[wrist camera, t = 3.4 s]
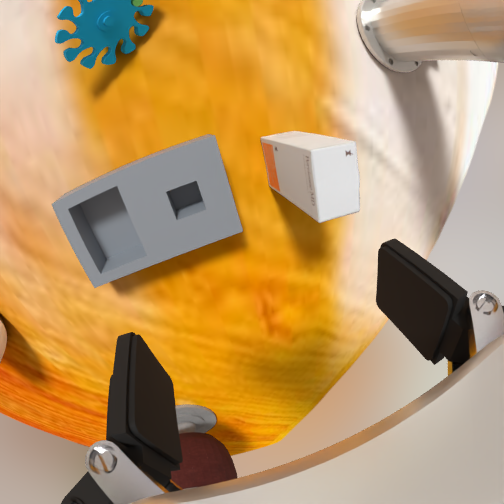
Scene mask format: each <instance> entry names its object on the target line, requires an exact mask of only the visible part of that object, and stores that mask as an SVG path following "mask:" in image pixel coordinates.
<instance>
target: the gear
mask: <svg viewBox="0 0 504 504" xmlns="http://www.w3.org/2000/svg"><path fill="white" fill-rule="evenodd" d="M78 1H79V2H80V4H81V14H80V15H79V16H77V17H75V16H74V15H73V9H72V7H70V6H66V7H64V8H63V9H62V10H61V11H60V13H59V14H58V16H57V18H58V19H60V20H70V21H72V22H73V23H74V24H75V25H76V27H77V29H76V31H75V32H74V33H73V34H70V33H69V32H68V31H66V30H59V31H57V33H56V36H55V42H56V43H63V42H65V41H67V40H69V39H72V38H79V39H80V40H81V45H80V46H79V47H78V48H68V49H66V50H65V51H64V52H63V53H64V57H65V58H66V60H67V61H69V62H71V61H73V60H74V59H75V58H76V57H77V55H78V54H79V53H80V52H81V51H83V50H84V49H87V48H89V47H93V52H92V53H91V54H90V55H88V56H86V57H84V58H83V59H82V60H81V62H80V64H81V65H83V66H85V67H87V68H90V69H91V68H92V67H93V66H94V65H95V60H96V58H97V56H98V54H99V53H100V52H101V51H102V50H103V49H104V48H105V47H107V46H108V52H107V53H106V54H105V55H104V56H103V57H102V60H101V62H102V63H103V64H106V65H110V64H115V62H116V56H115V48H116V46H117V43H118V41H119V40H120V39H123V44H122V46H121V52H122V53H125V54H128V53H130V52H132V51H133V50H135V48H136V46H135V44H134V43H132V41H131V40H130V38H129V29H130V28H131V27H132V26H134V32H135V34H136V35H138V36H144V35H145V34H146V33H147V31H148V30H149V27H148V26H147V25H142V24H139V23H138V22H137V21H136V20H135V18H134V14H135V12H136V11H138V12H139V13H140V14H141V15H142V16H151V14H152V12H153V7H154V6H152V5H144V6H141V7H137V6H140V5H141V4H142V2H143V0H92V1H91V2H87V0H78Z"/></svg>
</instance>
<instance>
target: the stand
mask: <svg viewBox="0 0 504 504" xmlns="http://www.w3.org/2000/svg"><path fill="white" fill-rule="evenodd" d="M52 206H53V209H54V211H55V213H56V215H57V218H58V220H59V222H60V224H61V226H62V228H63V230H64V232H65V234H66V236H67V238H68V240H69V242H70V244H71V246H72V248H73V250H74V252H75V254H76V256H77V258H78V260H79V261H80V263H81V265H82V267H83V269H84V270H85V272H86V274H87V276H88V277H89V279H90V281H91V283H92V284H93V286H94V288H96V287H98V286H101V285H103V284H106V283H108V282H111V281H113V280H116V279H118V278H121V277H123V276H126V275H129V274H131V273H134V272H136V271H139V270H141V269H144V268H147V267H149V266H152V265H154V264H157V263H160V262H162V261H165V260H167V259H170V258H173V257H175V256H178V255H181V254H183V253H186V252H189V251H191V250H194V249H197V248H199V247H202V246H205V245H207V244H210V243H213V242H215V241H218V240H221V239H224V238H226V237H229V236H232V235H235V234H237V233H240V232H243V229H242V226H241V222H240V219H239V216H238V212H237V209H236V206H235V202H234V199H233V195H232V192H231V189H230V185H229V182H228V179H227V175H226V172H225V168H224V165H223V162H222V158H221V155H220V151H219V148H218V145H217V141H216V138H215V136H214V135H210V134H208V135H205V136H202V137H198V138H195V139H192V140H189V141H187V142H184V143H181V144H178V145H175V146H172V147H170V148H167V149H164V150H161V151H159V152H156V153H154V154H151V155H148V156H146V157H143V158H141V159H139V160H136V161H134V162H131V163H129V164H127V165H124V166H122V167H120V168H117V169H115V170H113V171H111V172H108V173H106V174H104V175H102V176H100V177H98V178H96V179H93V180H91V181H89V182H87V183H85V184H83V185H81V186H79V187H77V188H75V189H73V190H71V191H69V192H68V193H66V194H64V195H63V196H61V197H60V198H59V199H58V200H56V201H55V202H54V203H53V204H52Z"/></svg>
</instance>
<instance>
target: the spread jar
mask: <svg viewBox="0 0 504 504" xmlns="http://www.w3.org/2000/svg"><path fill="white" fill-rule="evenodd" d="M6 343H7V332H6V327H5V324H4V322H3V320H2V318H1V316H0V362H1V359H2V357H3V354H4V352H5V348H6Z"/></svg>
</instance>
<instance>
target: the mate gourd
mask: <svg viewBox="0 0 504 504" xmlns="http://www.w3.org/2000/svg"><path fill="white" fill-rule="evenodd" d="M175 407H176V415H177V423H178V430H179V437H180V444H181V450H182V457H183V462H182V463H179V464H180V470H177V471H171V477H172V479H171V480H172V481H173V482H174V483H176V484H177V485H178V486H179V487H181V488H182V489H183V490H185V489H191V488H196V487H202V486H207V485H211V484H216V483H220V482H225V481H229V480H233V479H237V473H236V470H235V467H234V463H233V460H232V458H231V456H230V454H229V452H228V450H227V449H226V447H225V446H224V445H223V443H221V442H220V441H218V440H217V439H216V438H214V437H213V436H211V435H209V434H206V433H205V432H207V431H209V430H210V429H211V428H213V426H214V425H215V424H216V416H215V414H214V412H213V411H211V410H210V409H208V408H206V407H203V406H198V405H177V406H175Z"/></svg>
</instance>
